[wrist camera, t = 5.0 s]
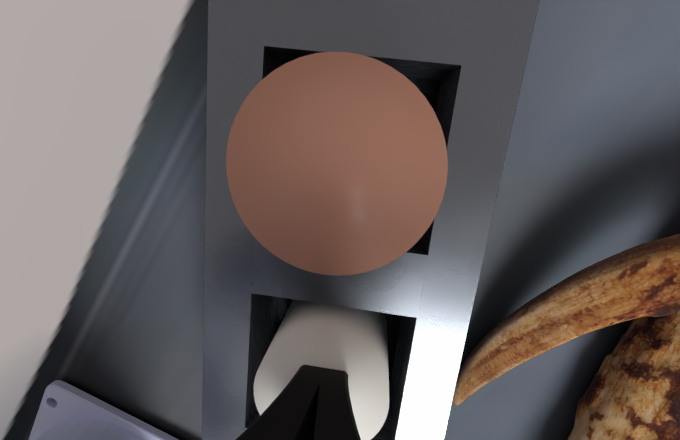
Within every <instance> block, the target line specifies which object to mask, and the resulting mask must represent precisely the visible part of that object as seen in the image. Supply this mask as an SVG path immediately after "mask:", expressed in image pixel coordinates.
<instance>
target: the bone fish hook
mask: <svg viewBox="0 0 680 440" xmlns="http://www.w3.org/2000/svg"><path fill="white" fill-rule="evenodd" d="M628 320H632V321H631V323H630V325H629V328H628V330H627V332H626V333H625V334H623V335H622V337H621V339H620V341H619V343H618V344H617V346H616V348H615V349H614V351H613V352H612V353H611V354H610V355H607V356H606V357H605V359H604V360H603V363H602V365H601V367H600V369H599V371H598V372H597V374H596V375H595V376H594V378H593V380H592V382H591V384H590V386H589V387H588V389H587V390H586V392H585V394H584V395H583V396H582V397H581V398H580V399H579V401H578V405H577V411H576V416H575V423H574V427H573V430H572V431H571V433H570V435H569V438H568V440H680V234H676V235H673V236H669V237H666V238H662V239H658V240H655V241H652V242H648V243H645V244H641V245H638V246H636V247H633V248H630V249H628V250H625V251H623V252H621V253H618V254H616V255H614V256H611V257H609V258H607V259H604V260H602V261H600V262H597V263H595V264H593V265H591V266H589V267H587V268H585V269H583V270H581V271H579V272H577V273H575V274H573V275H572V276H570V277H568V278H566V279H564V280H563V281H561V282H560V283H558V284H556V285H554V286H553V287H551V288H549V289H548V290H546V291H545V292H543V293H541V294H540V295H538V296H537V297H535V298H534V299H532V300H530V301H529V302H527V303H526V304H524V305H523V306H521V307H520V308H519V309H517V310H516V311H515V312H513V313H512V314H511V315H509V316H508V317H507V318H505V319H504V320H502V321H501V322H500V323H499V324H498V325H497V326H495V327H494V328H493V329H492V330H491V331H490V332H489V333H488V334H487V335H486V336H485V337H484V338H483V339H482V340H481V341H480V342H479V343H478V344H477V345H476V347H475V348H474V349H473V350H472V352H471V353H470V354H469V356H468V357H467V358H466V360H465V361H464V363H463V365H462V367H461V369H460V371H459V373H458V377H457V381H456V386H455V390H454V395H453V400H452V404H453V405H455V406H458V405H459V404H461V403H463V402H464V401H465V400H466V399H467V398H468V397H470V396H471V395H472V394H474V393H475V392H476V391H478V390H479V389H480V388H481V387H483V386H484V385H486V384H488V383H489V382H491V381H493V380H495V379H496V378H498V377H500V376H501V375H503V374H504V373H506V372H507V371H509V370H511V369H512V368H514V367H515V366H517V365H520V364H522V363H524V362H526V361H527V360H529V359H531V358H533V357H535V356H537V355H540V354H542V353H544V352H546V351H548V350H550V349H552V348H554V347H556V346H559V345H561V344H564V343H566V342H568V341H570V340H572V339H574V338H577V337H579V336H581V335H584V334H586V333H589V332H592V331H595V330H598V329H601V328H604V327H607V326H611V325H614V324H617V323H620V322H624V321H628Z"/></svg>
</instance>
